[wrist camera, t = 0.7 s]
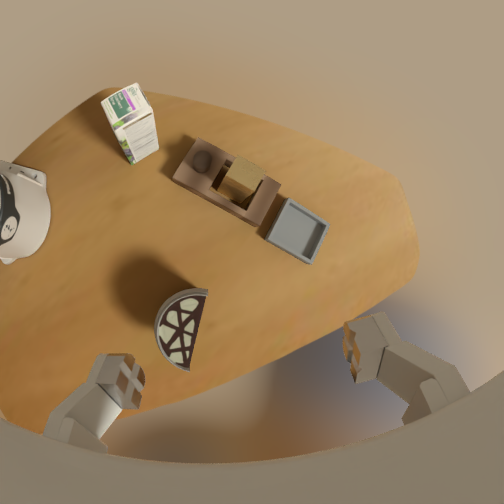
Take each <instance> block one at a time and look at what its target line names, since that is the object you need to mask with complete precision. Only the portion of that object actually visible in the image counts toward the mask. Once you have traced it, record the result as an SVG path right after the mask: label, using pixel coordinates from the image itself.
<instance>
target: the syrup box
mask: <svg viewBox="0 0 504 504" xmlns="http://www.w3.org/2000/svg"><path fill="white" fill-rule="evenodd" d="M101 105H102V107H103V109H104V112H105V114H106V116H107V119H108V121H109V123H110V125H111V128H112V130H113V132H114V134H115V136H116V138H117V140H118V142H119V144H120V146H121V147H122V149H123V151H124V153H125V155H126V157H127V158H128V160H129V162H130V164H131V165H133V164H135V163H136V162H138V161H140V160H141V159H143V158H145V157H146V156H148V155H150V154H151V153H153V152H154V151H156V150H158V149H159V144H158V139H157V133H156V128H155V121H154V116H153V110H152V108H151V106H150V104H149V102H148V100H147V98H146V96H145V95H144V93H143V91H142V90H141V88H140V86H139V85H138V83H135V84H132V85H130V86H128V87H125V88H123V89H121V90H120V91H118V92H116V93H114V94H112V95H111V96H109V97H107V98H106V99H104V100H103V101H101Z"/></svg>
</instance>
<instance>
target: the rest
mask: <svg viewBox="0 0 504 504" xmlns="http://www.w3.org/2000/svg"><path fill="white" fill-rule="evenodd" d="M329 226H330V224H329V223H328V222H326V221H325V220H323V219H322V218H320V217H319V216H317V215H316V214H314V213H313V212H311V211H309V210H308V209H306V208H305V207H303V206H302V205H300V204H298V203H297V202H295V201H294V200H292V199H290V198H287V199H285V200H284V202H283V204H282V206H281V208H280V210H279V212H278V214H277V216H276V218H275V220H274V222H273V224H272V226H271V227H270V229H269V231H268V233H267V235H266V237H265V239H264V240H266V241H267V242H269V243H271V244H273V245H274V246H276V247H278V248H280V249H281V250H283V251H285V252H287V253H288V254H290V255H292V256H294V257H295V258H297V259H299V260H301V261H302V262H304V263H306V264H311V265H312V263H313V261H314V259H315V257H316V255H317V253H318V250H319V248H320V246H321V244H322V242H323V240H324V237H325V235H326V233H327V231H328V228H329Z"/></svg>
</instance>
